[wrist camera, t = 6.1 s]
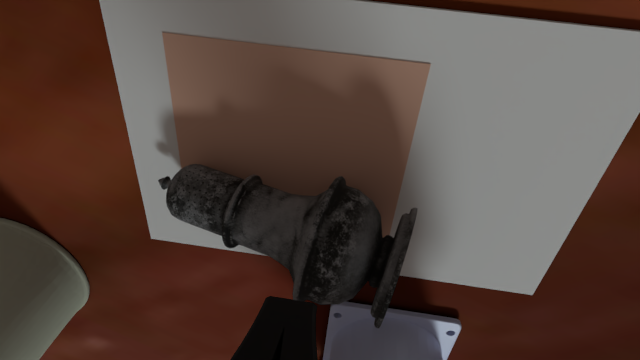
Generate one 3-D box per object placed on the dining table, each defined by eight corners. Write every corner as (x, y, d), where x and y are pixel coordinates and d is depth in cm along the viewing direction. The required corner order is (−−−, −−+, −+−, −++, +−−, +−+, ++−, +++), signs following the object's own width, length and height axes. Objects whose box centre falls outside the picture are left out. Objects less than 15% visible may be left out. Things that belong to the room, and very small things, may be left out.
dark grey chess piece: (426, 177, 18) (193, 104, 20) (406, 263, 13) (102, 154, 15) (392, 269, 21) (195, 197, 23) (366, 365, 16) (121, 262, 18)
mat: (530, 290, 22) (532, 296, 22) (153, 234, 23) (150, 239, 23) (678, 34, 14) (684, 36, 14) (97, -30, 15) (92, -28, 15)
